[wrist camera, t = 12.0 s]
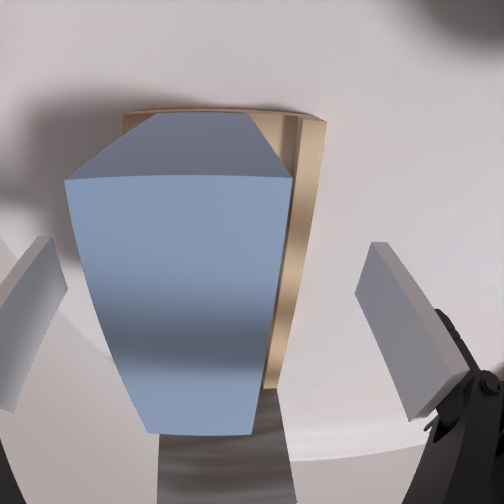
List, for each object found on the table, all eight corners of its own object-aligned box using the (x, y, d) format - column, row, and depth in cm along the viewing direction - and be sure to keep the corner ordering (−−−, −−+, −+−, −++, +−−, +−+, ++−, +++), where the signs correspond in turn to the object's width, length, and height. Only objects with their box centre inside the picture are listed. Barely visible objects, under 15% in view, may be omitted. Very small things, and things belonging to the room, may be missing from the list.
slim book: (156, 113, 13) (63, 180, 5) (247, 113, 14) (292, 178, 6) (167, 289, 19) (148, 433, 11) (236, 289, 20) (251, 434, 12)
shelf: (131, 111, 14) (-52, 231, 3) (312, 115, 16) (497, 235, 4) (167, 374, 27) (160, 508, 16) (271, 373, 28) (293, 505, 17)
